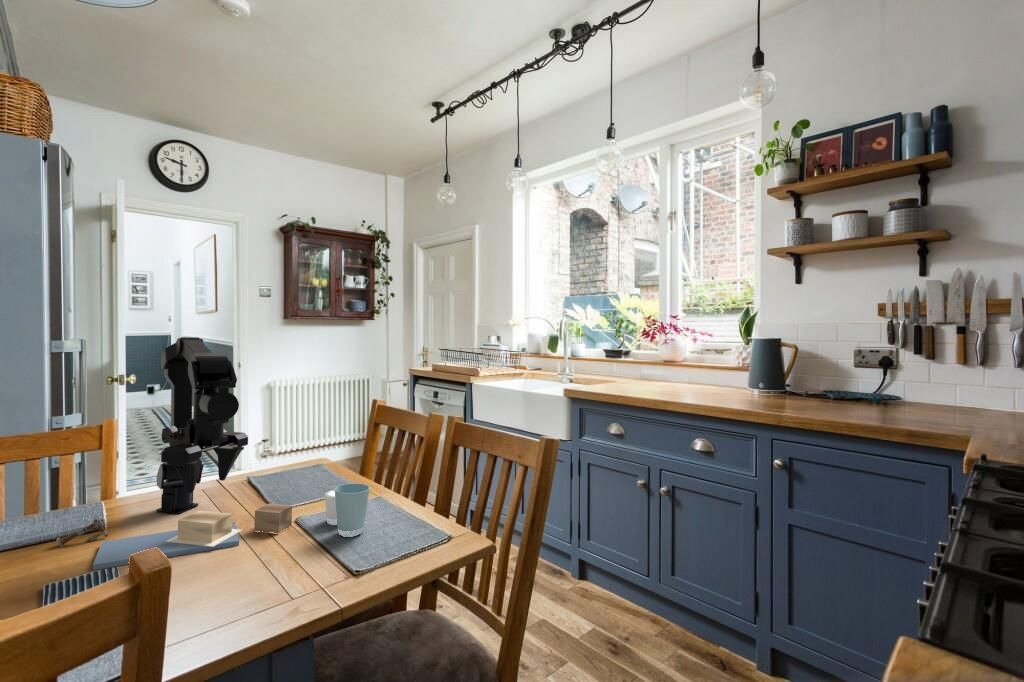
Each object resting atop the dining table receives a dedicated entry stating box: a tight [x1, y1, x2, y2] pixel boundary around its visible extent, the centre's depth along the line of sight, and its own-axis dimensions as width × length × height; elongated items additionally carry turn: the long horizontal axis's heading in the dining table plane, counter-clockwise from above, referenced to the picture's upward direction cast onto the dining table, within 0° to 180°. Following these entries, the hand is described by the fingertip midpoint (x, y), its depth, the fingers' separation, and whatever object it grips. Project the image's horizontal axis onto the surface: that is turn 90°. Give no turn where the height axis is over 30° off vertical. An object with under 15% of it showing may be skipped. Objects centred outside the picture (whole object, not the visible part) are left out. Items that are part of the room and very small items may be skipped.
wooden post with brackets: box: [56, 517, 109, 549], centre depth 105 cm, size 2×8×4 cm, turn 130°
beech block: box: [177, 510, 233, 543], centre depth 108 cm, size 6×8×4 cm
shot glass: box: [324, 489, 337, 519], centre depth 122 cm, size 7×7×7 cm
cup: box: [334, 482, 371, 531], centre depth 115 cm, size 8×8×10 cm
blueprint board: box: [92, 521, 243, 571], centre depth 105 cm, size 25×14×1 cm, turn 123°
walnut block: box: [253, 503, 293, 534], centre depth 116 cm, size 5×6×5 cm
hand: (206, 486), depth 108 cm, fingers open, 9 cm apart
